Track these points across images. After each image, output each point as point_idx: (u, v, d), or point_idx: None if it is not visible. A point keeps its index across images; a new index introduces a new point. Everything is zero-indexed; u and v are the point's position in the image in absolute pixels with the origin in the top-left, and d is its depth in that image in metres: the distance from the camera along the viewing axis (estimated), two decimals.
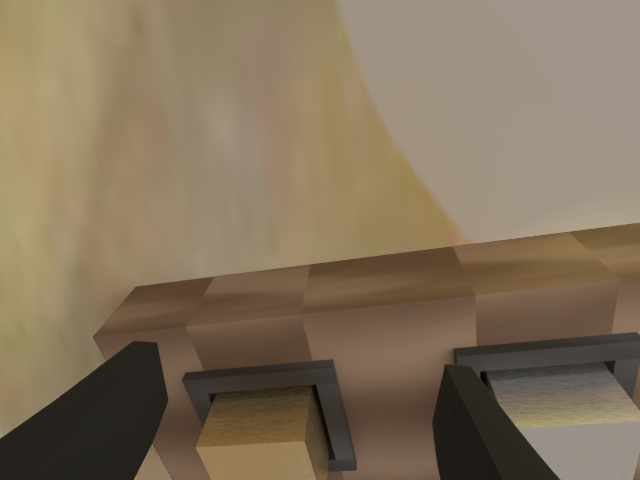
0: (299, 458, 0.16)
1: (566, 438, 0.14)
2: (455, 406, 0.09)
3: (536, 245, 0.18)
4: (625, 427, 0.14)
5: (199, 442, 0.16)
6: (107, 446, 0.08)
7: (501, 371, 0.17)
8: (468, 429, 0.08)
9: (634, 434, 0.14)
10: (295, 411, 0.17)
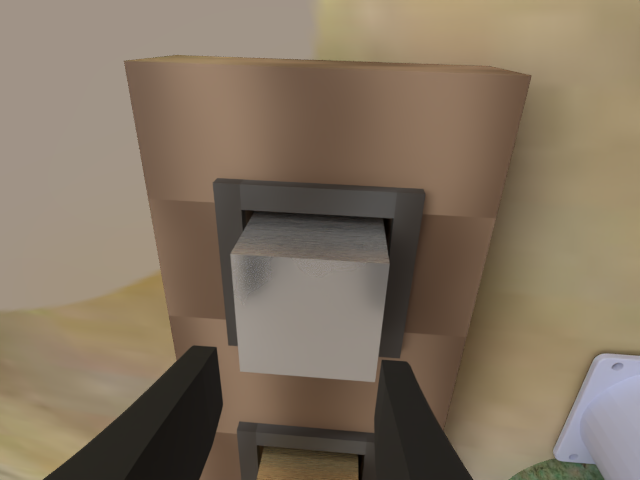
0: None
1: (257, 325, 0.13)
2: (384, 400, 0.09)
3: None
4: (240, 273, 0.12)
5: None
6: (179, 452, 0.08)
7: None
8: (391, 423, 0.08)
9: (254, 264, 0.12)
10: None
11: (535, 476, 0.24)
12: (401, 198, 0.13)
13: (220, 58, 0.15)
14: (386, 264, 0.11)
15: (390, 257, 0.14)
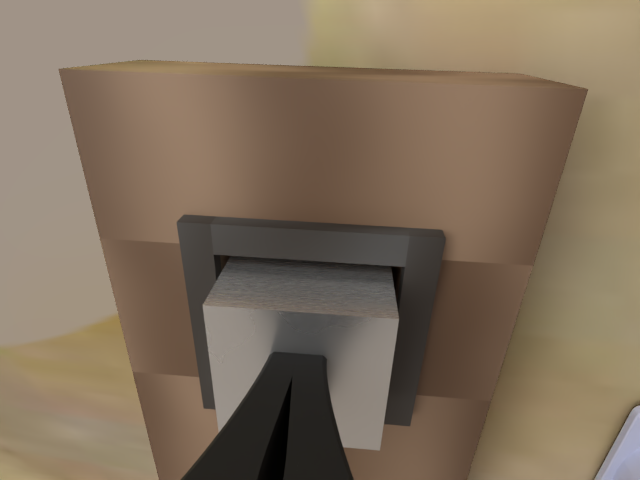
0: None
1: (238, 386, 0.10)
2: None
3: None
4: (216, 327, 0.10)
5: None
6: (277, 461, 0.08)
7: None
8: None
9: (232, 317, 0.09)
10: None
11: None
12: (415, 243, 0.10)
13: (190, 64, 0.12)
14: (395, 319, 0.09)
15: (400, 312, 0.11)
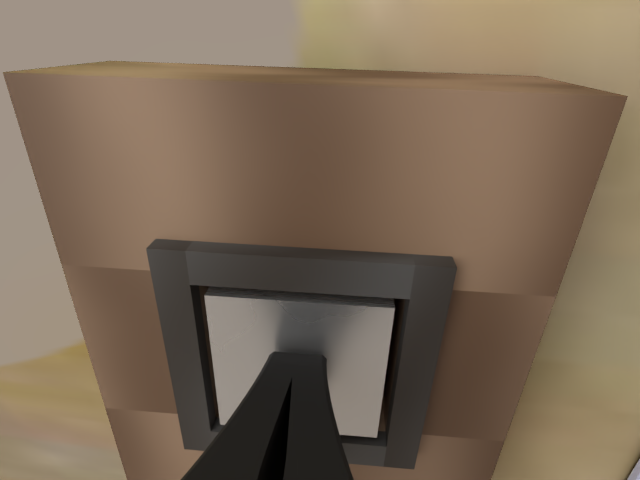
0: None
1: (239, 375, 0.11)
2: None
3: None
4: (218, 317, 0.10)
5: None
6: (277, 461, 0.08)
7: None
8: None
9: (233, 307, 0.10)
10: None
11: None
12: (421, 273, 0.09)
13: (165, 66, 0.10)
14: (391, 308, 0.09)
15: (403, 349, 0.10)
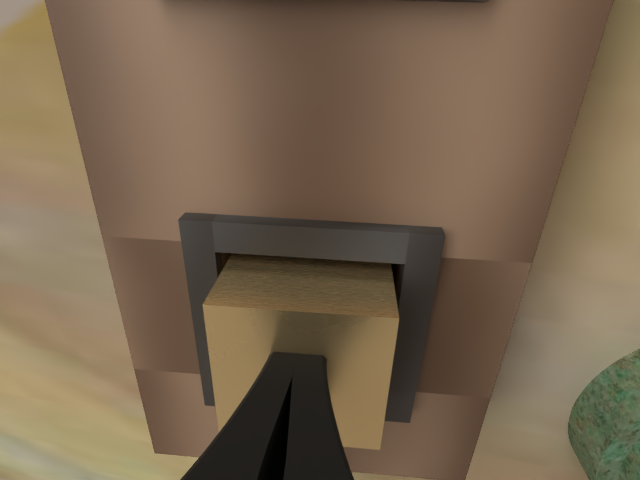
0: (246, 322, 0.09)
1: None
2: None
3: None
4: None
5: None
6: (277, 461, 0.08)
7: None
8: None
9: None
10: None
11: None
12: None
13: None
14: None
15: None
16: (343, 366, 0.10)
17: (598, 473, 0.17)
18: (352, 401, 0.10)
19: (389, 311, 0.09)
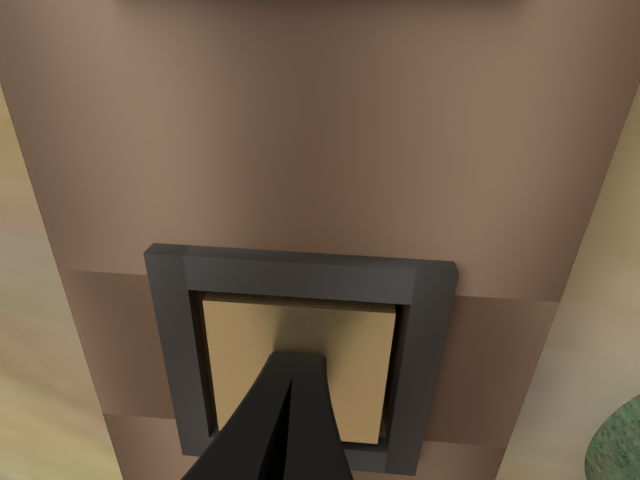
0: (245, 317, 0.10)
1: None
2: None
3: None
4: None
5: None
6: (277, 461, 0.08)
7: None
8: None
9: None
10: None
11: None
12: None
13: None
14: None
15: None
16: (341, 361, 0.10)
17: None
18: (349, 395, 0.10)
19: (386, 306, 0.09)
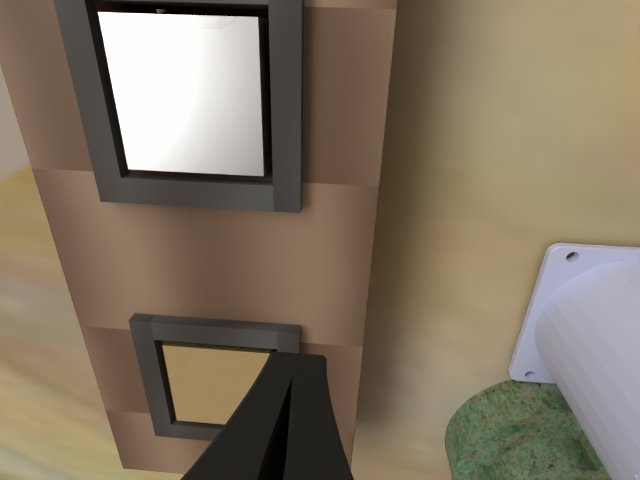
0: (187, 355, 0.17)
1: (137, 106, 0.12)
2: None
3: None
4: (112, 38, 0.11)
5: None
6: (277, 461, 0.08)
7: None
8: None
9: (124, 24, 0.11)
10: None
11: (486, 399, 0.22)
12: None
13: None
14: (254, 17, 0.11)
15: (271, 64, 0.11)
16: (244, 379, 0.17)
17: None
18: None
19: (266, 349, 0.17)
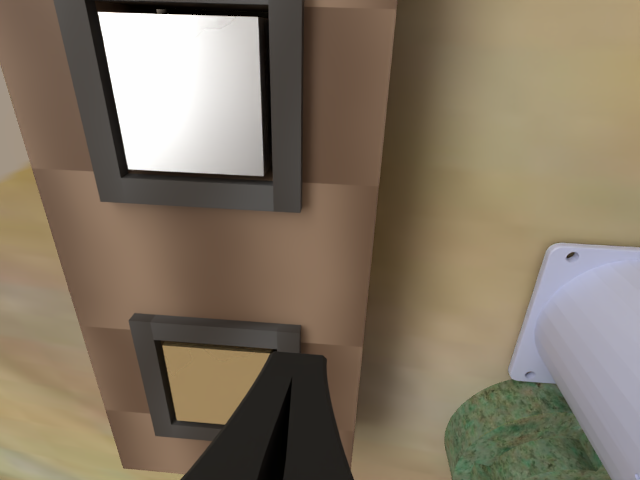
0: (187, 355, 0.17)
1: (137, 106, 0.12)
2: None
3: None
4: (112, 38, 0.11)
5: None
6: (277, 461, 0.08)
7: None
8: None
9: (124, 24, 0.11)
10: None
11: (485, 399, 0.22)
12: None
13: None
14: (254, 17, 0.11)
15: (271, 64, 0.11)
16: (244, 379, 0.17)
17: None
18: None
19: (266, 349, 0.17)
